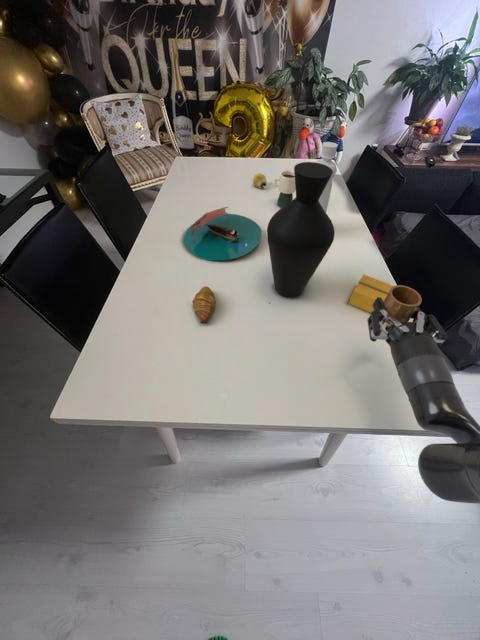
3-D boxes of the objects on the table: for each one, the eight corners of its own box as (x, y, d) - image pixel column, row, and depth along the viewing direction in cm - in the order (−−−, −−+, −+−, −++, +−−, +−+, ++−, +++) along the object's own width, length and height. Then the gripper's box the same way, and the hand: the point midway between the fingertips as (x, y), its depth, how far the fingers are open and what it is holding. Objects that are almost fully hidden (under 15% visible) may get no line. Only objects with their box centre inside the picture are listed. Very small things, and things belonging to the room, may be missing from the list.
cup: (402, 325, 67) (424, 292, 59) (395, 343, 63) (418, 311, 56) (375, 314, 69) (393, 281, 61) (367, 331, 65) (386, 298, 58)
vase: (328, 291, 91) (369, 173, 65) (290, 317, 83) (319, 195, 57) (286, 263, 99) (308, 149, 73) (249, 285, 91) (257, 166, 65)
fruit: (261, 193, 132) (247, 182, 136) (270, 193, 136) (256, 182, 140) (266, 180, 129) (252, 169, 133) (275, 181, 132) (261, 170, 136)
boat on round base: (215, 210, 121) (212, 183, 112) (275, 230, 110) (277, 201, 101) (168, 247, 107) (160, 219, 98) (232, 274, 96) (229, 245, 87)
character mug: (297, 203, 127) (303, 171, 118) (297, 211, 123) (303, 179, 113) (272, 200, 128) (275, 169, 118) (270, 208, 123) (274, 176, 114)
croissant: (194, 290, 89) (193, 278, 85) (217, 291, 89) (216, 278, 86) (190, 325, 80) (188, 312, 76) (215, 325, 80) (215, 312, 77)
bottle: (310, 223, 117) (330, 137, 94) (326, 234, 112) (351, 147, 89) (292, 229, 113) (308, 142, 91) (308, 241, 108) (329, 152, 86)
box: (387, 298, 90) (394, 285, 86) (378, 316, 85) (386, 303, 81) (357, 286, 93) (363, 273, 89) (347, 303, 88) (353, 290, 84)
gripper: (476, 359, 49) (436, 290, 60) (388, 353, 49) (365, 285, 60) (450, 382, 55) (418, 315, 66) (372, 377, 55) (353, 311, 66)
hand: (393, 301), depth 63 cm, fingers closed on cup, 6 cm apart
